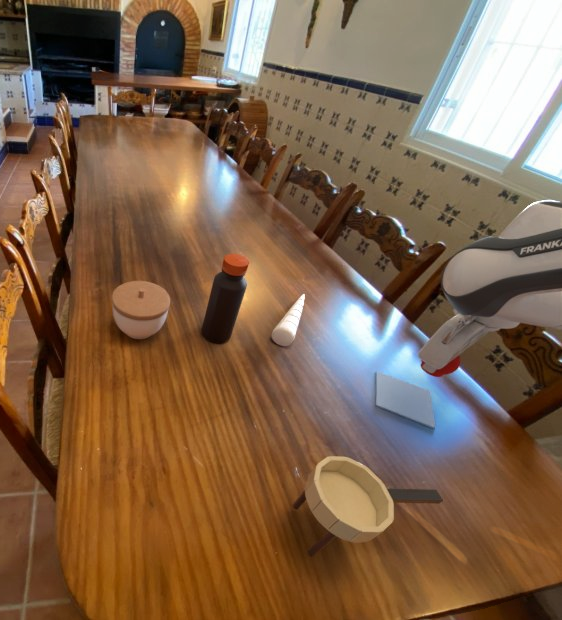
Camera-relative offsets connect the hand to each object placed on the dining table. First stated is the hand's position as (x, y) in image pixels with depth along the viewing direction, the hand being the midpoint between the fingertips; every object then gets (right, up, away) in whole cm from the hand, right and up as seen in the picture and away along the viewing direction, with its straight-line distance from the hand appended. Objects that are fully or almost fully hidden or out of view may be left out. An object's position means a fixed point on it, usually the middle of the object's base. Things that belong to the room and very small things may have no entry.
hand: (437, 362), depth 64 cm
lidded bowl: (-54, +5, +18) cm, 57 cm away
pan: (-25, -22, -12) cm, 36 cm away
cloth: (-1, -8, +7) cm, 11 cm away
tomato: (0, -1, +1) cm, 2 cm away
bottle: (-36, +4, +19) cm, 41 cm away
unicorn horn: (-16, +7, +24) cm, 30 cm away
